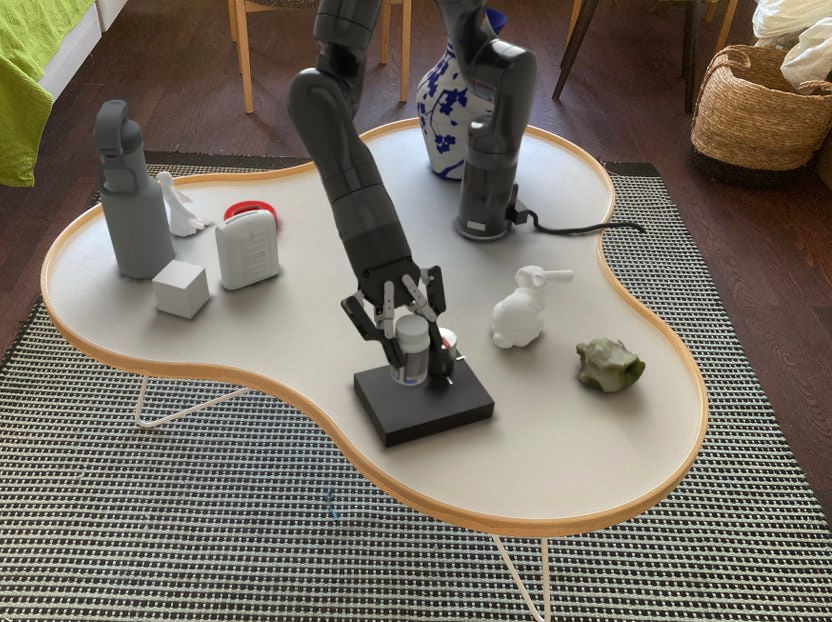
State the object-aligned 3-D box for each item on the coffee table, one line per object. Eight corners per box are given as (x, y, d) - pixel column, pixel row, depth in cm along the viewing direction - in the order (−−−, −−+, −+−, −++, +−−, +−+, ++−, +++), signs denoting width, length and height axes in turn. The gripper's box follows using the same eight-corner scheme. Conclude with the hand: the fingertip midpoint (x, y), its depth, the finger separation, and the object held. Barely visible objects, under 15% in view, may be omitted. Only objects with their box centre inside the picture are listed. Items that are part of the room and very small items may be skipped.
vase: (425, 195, 144) (438, 39, 124) (401, 151, 158) (409, 3, 138) (517, 186, 147) (543, 31, 127) (485, 143, 161) (505, -3, 140)
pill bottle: (432, 367, 95) (437, 318, 90) (419, 391, 92) (423, 341, 87) (398, 357, 97) (401, 307, 91) (384, 380, 94) (386, 330, 88)
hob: (450, 353, 111) (452, 338, 109) (494, 417, 101) (497, 401, 99) (349, 380, 107) (349, 364, 104) (385, 448, 97) (385, 433, 95)
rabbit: (511, 304, 119) (523, 242, 111) (565, 326, 115) (581, 264, 107) (475, 344, 112) (485, 282, 104) (531, 369, 108) (546, 306, 100)
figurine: (164, 221, 138) (152, 163, 130) (206, 214, 140) (197, 156, 131) (169, 243, 132) (157, 183, 124) (213, 235, 134) (204, 176, 126)
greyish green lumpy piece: (641, 407, 104) (653, 374, 98) (573, 403, 106) (581, 371, 100) (636, 355, 110) (647, 321, 103) (571, 352, 111) (578, 318, 105)
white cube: (178, 289, 123) (173, 259, 118) (210, 297, 121) (205, 267, 117) (158, 309, 118) (151, 279, 114) (190, 319, 117) (184, 288, 113)
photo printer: (271, 261, 128) (265, 199, 120) (283, 274, 126) (278, 211, 117) (218, 281, 124) (208, 218, 116) (229, 294, 121) (220, 231, 113)
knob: (417, 359, 105) (419, 331, 102) (444, 350, 107) (447, 322, 103) (432, 378, 102) (435, 350, 99) (459, 369, 104) (463, 341, 100)
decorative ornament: (279, 214, 140) (277, 199, 137) (275, 242, 133) (274, 227, 130) (228, 214, 140) (226, 199, 137) (222, 242, 133) (220, 227, 130)
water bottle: (169, 282, 124) (136, 125, 105) (112, 282, 124) (68, 125, 105) (180, 248, 131) (151, 95, 112) (126, 248, 131) (87, 95, 112)
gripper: (329, 239, 84) (382, 378, 84) (432, 205, 89) (481, 336, 90) (309, 254, 91) (358, 382, 91) (405, 222, 96) (451, 344, 97)
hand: (419, 359), depth 91 cm, fingers closed on pill bottle, 4 cm apart
